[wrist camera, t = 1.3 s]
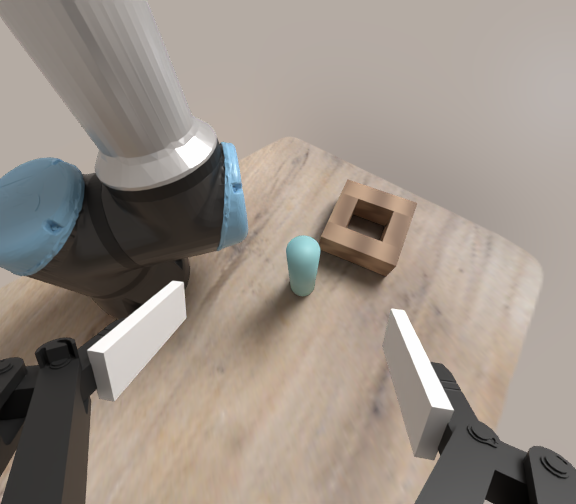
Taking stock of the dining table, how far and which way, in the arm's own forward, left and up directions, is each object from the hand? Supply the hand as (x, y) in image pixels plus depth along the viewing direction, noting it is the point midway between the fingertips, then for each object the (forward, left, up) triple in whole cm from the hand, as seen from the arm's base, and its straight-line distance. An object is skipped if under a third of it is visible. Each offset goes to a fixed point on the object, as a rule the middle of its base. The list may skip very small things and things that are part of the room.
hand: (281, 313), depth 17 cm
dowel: (-2, +9, -26) cm, 27 cm away
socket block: (+4, +22, -26) cm, 34 cm away
